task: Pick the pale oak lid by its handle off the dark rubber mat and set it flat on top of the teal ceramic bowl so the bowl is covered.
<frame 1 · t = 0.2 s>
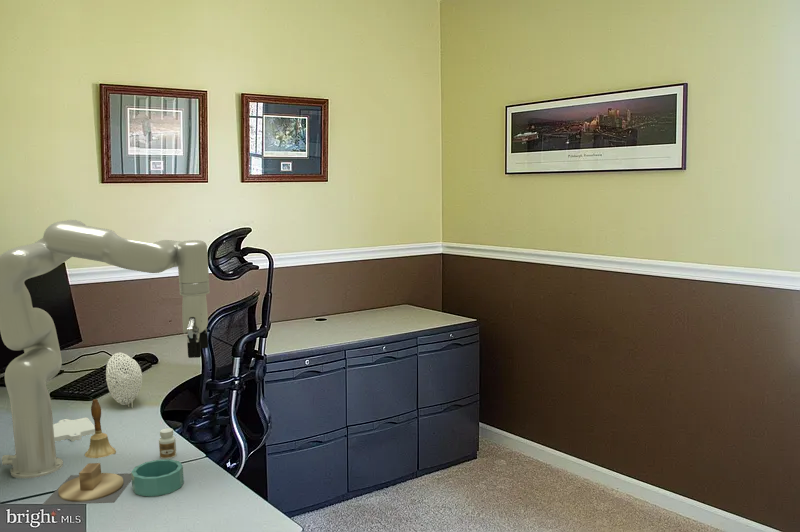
hand: (198, 352, 197), 31 cm above the table, tool pointing down, fingers open, 9 cm apart
bowl: (158, 487, 188), on the table
mounting plate: (70, 434, 229), on the table
pill bottle: (168, 457, 207), on the table
hand bell: (100, 454, 211), on the table
lid: (91, 488, 187), on the table, touching mat
mat: (91, 490, 187), on the table
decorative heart: (126, 405, 254), on the table
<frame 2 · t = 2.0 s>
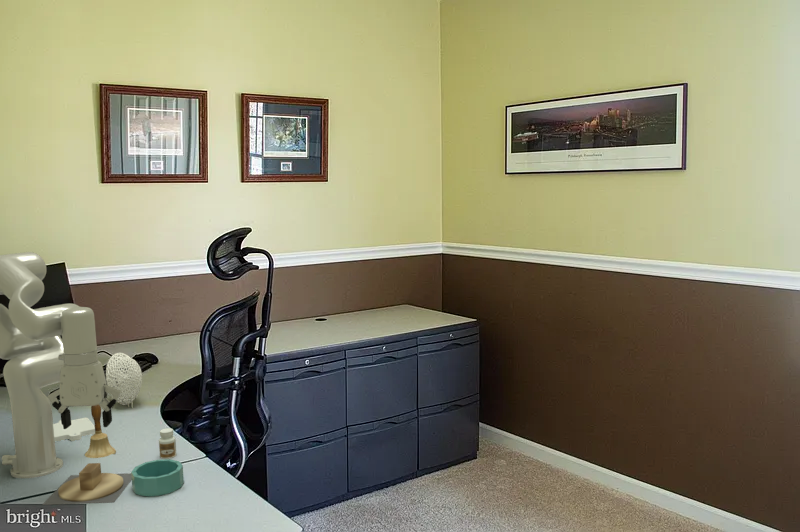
hand: (87, 426, 185), 17 cm above the table, tool pointing down, fingers open, 9 cm apart
nothing on the table moved.
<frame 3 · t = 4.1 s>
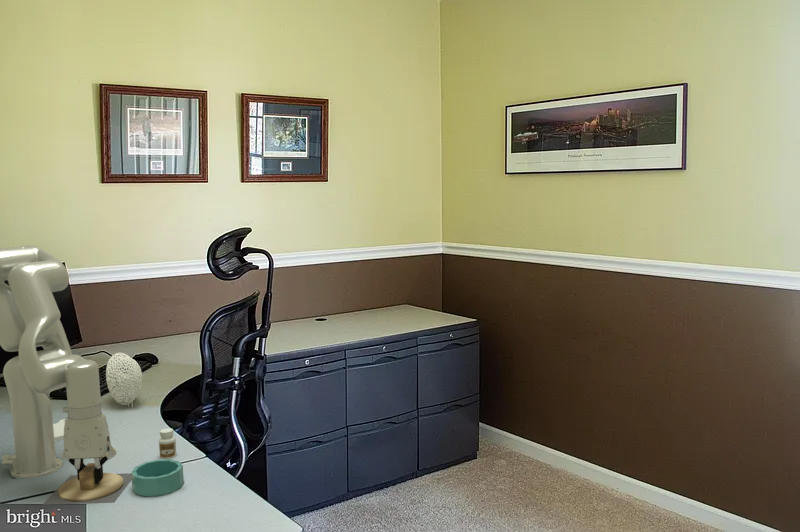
hand: (90, 481, 187), 2 cm above the table, tool pointing down, fingers closed on lid, 3 cm apart
lid: (91, 488, 187), point 1 cm above the table, touching gripper, mat
everything else where it was.
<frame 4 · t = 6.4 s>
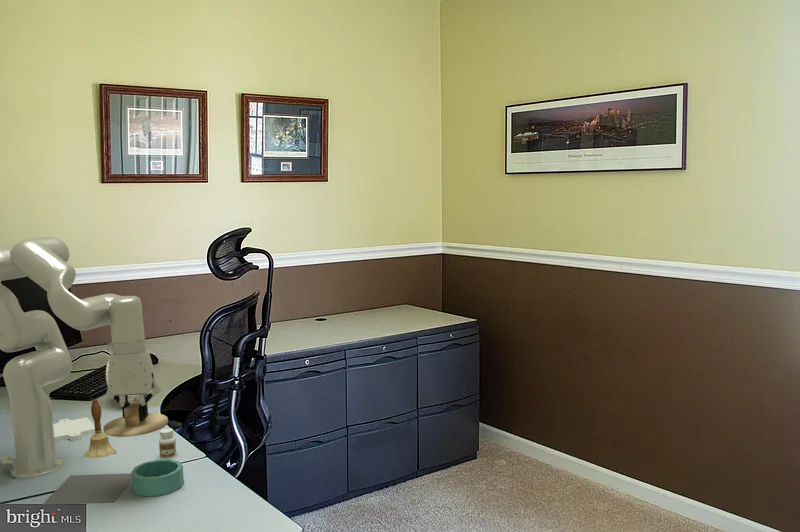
hand: (135, 419, 185), 18 cm above the table, tool pointing down, fingers closed on lid, 3 cm apart
lid: (136, 426, 185), point 16 cm above the table, touching gripper
everything else where it was.
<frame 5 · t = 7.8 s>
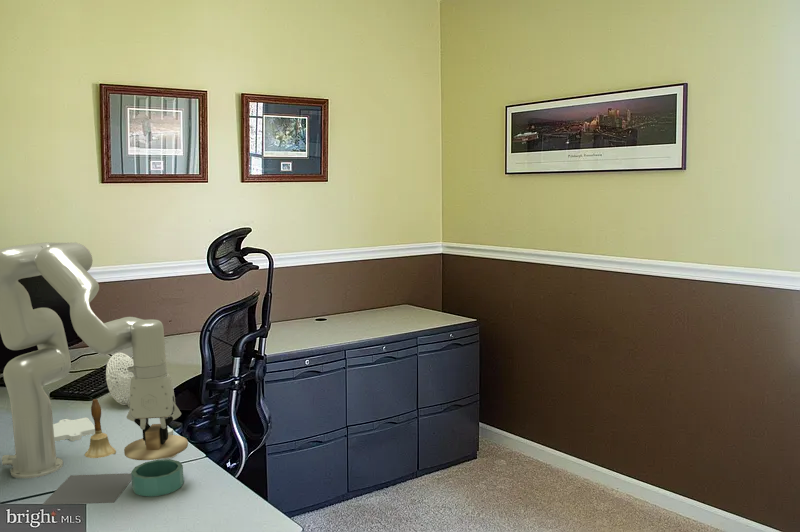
hand: (156, 442, 186), 12 cm above the table, tool pointing down, fingers closed on lid, 3 cm apart
lid: (156, 448, 186), point 10 cm above the table, touching gripper
everything else where it was.
when the fingers open (8 cm above the table, at t = 9.1 s): lid drops 1 cm, resting on bowl.
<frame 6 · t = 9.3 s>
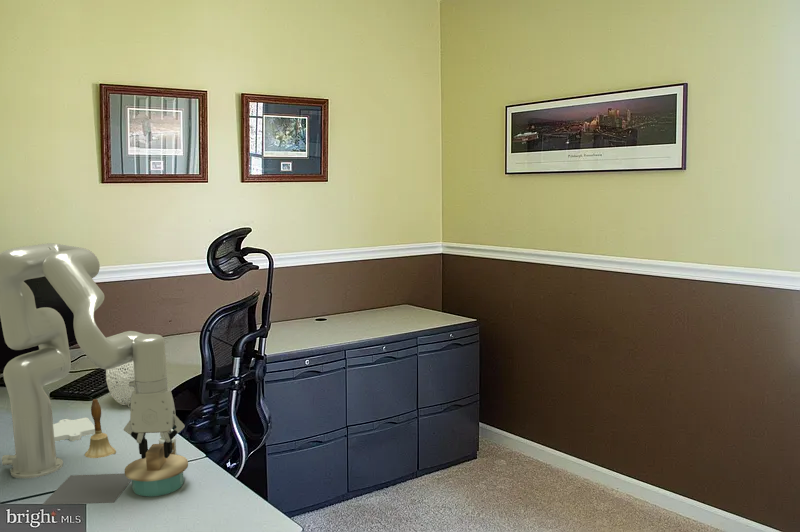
hand: (156, 455, 186), 8 cm above the table, tool pointing down, fingers open, 4 cm apart
lid: (156, 468, 187), point 5 cm above the table, touching bowl
everything else where it was.
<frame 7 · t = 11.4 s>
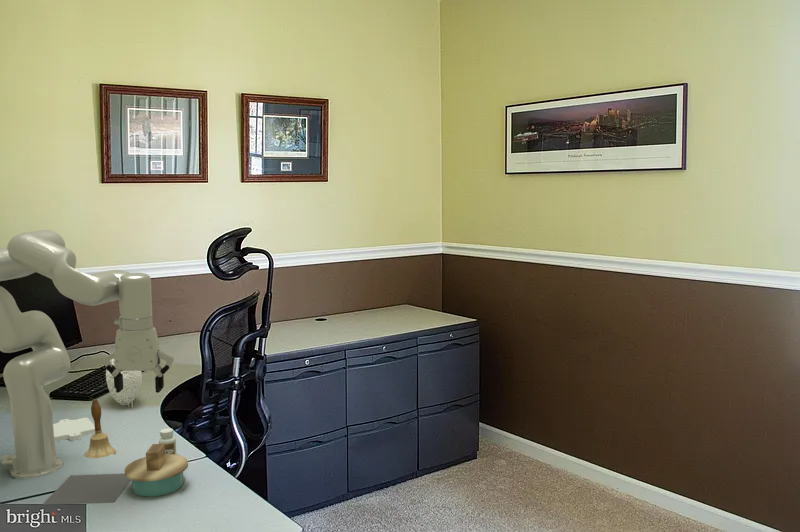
hand: (139, 390, 187), 24 cm above the table, tool pointing down, fingers open, 9 cm apart
nothing on the table moved.
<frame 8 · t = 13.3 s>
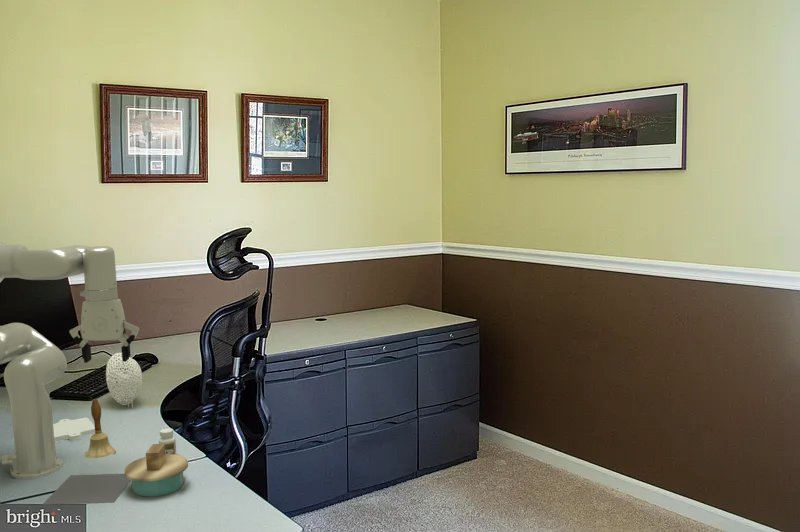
hand: (106, 360, 193), 30 cm above the table, tool pointing down, fingers open, 9 cm apart
nothing on the table moved.
at the end: lid 0.1 cm off-centre on the bowl, point 5.0 cm above the bowl's base; lid tilted 0°; the gripper is holding nothing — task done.
